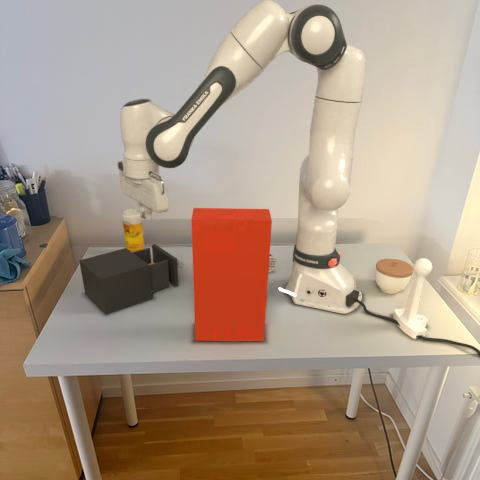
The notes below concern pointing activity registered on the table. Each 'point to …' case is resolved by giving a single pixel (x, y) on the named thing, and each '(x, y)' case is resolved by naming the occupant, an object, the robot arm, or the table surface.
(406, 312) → the joystick
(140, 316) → the table surface
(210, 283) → the file binder
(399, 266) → the trinket box
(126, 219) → the vitamin bottle
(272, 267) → the flashlight
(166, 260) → the drawer
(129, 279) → the dark grey open box
